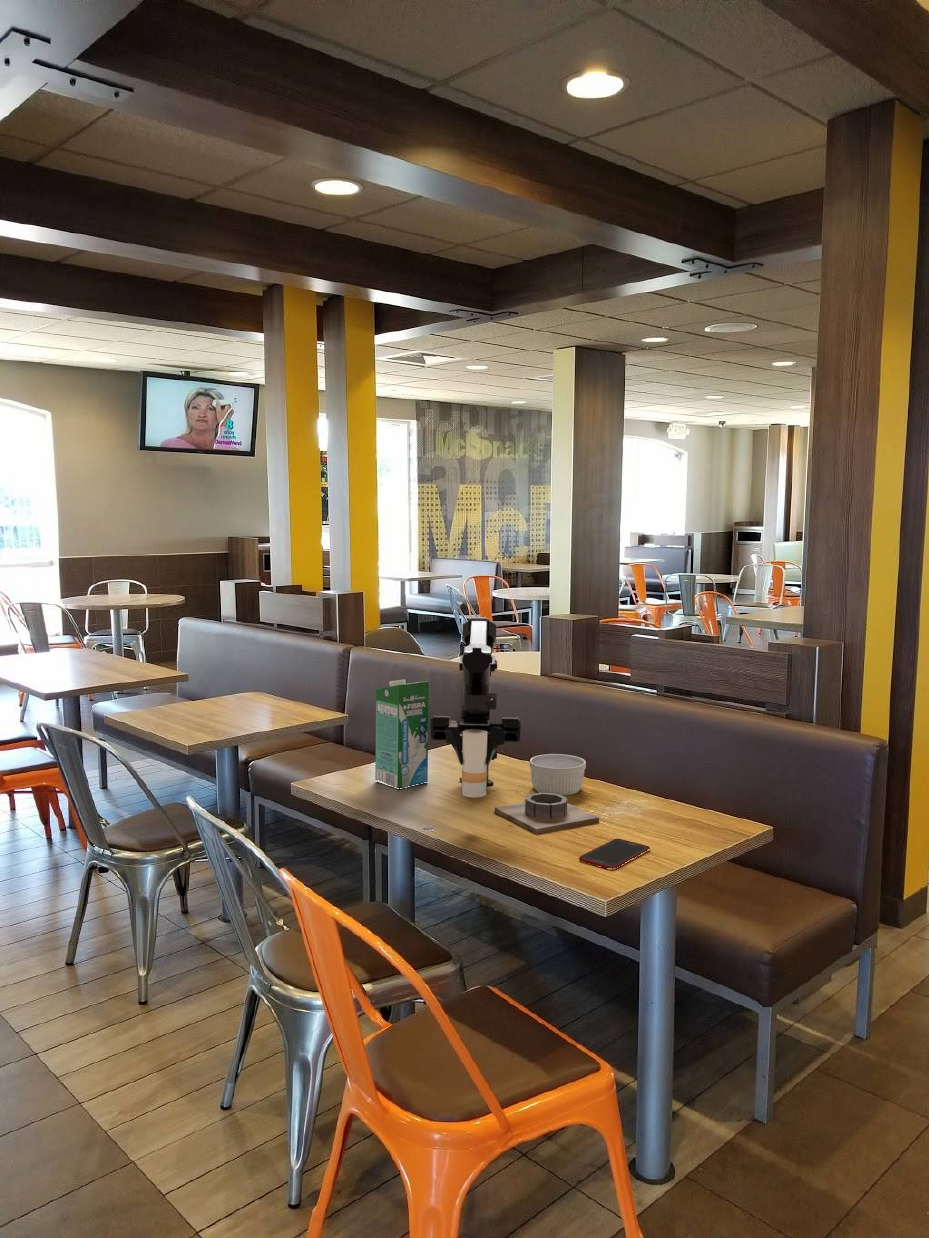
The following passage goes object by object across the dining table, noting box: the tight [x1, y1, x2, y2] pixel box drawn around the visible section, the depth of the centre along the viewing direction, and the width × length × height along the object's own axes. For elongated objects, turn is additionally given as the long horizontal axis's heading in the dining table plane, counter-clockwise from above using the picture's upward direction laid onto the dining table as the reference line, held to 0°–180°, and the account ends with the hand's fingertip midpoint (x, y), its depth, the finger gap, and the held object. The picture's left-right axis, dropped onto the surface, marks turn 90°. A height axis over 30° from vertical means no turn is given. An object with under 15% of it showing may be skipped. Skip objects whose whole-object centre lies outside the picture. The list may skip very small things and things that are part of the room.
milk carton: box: [374, 678, 430, 789], centre depth 224 cm, size 9×9×25 cm
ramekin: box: [529, 753, 587, 796], centre depth 221 cm, size 13×13×7 cm
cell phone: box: [578, 838, 651, 869], centre depth 178 cm, size 8×15×1 cm, turn 141°
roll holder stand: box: [494, 792, 600, 835], centre depth 200 cm, size 16×16×4 cm
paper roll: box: [461, 729, 487, 799], centre depth 192 cm, size 5×5×13 cm
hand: (474, 764), depth 191 cm, fingers closed on paper roll, 5 cm apart
